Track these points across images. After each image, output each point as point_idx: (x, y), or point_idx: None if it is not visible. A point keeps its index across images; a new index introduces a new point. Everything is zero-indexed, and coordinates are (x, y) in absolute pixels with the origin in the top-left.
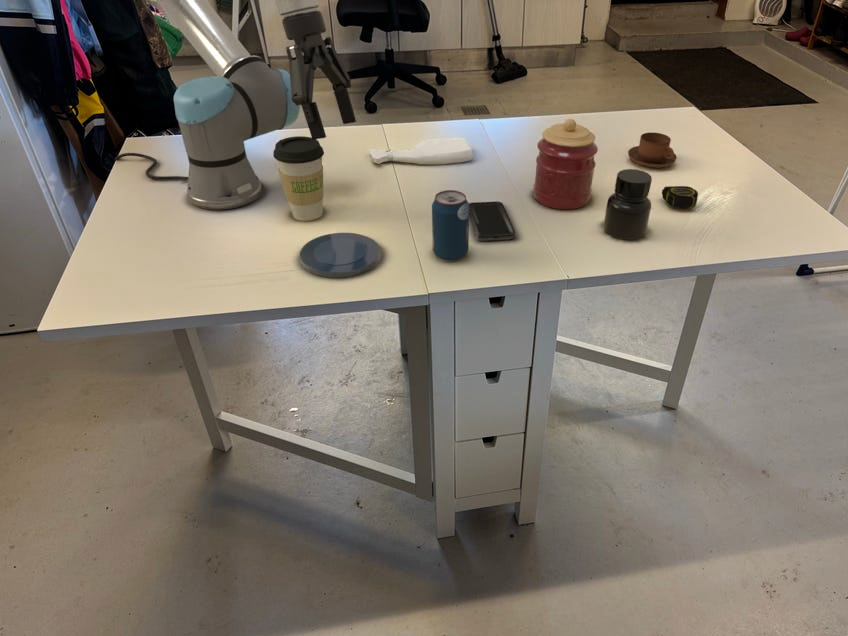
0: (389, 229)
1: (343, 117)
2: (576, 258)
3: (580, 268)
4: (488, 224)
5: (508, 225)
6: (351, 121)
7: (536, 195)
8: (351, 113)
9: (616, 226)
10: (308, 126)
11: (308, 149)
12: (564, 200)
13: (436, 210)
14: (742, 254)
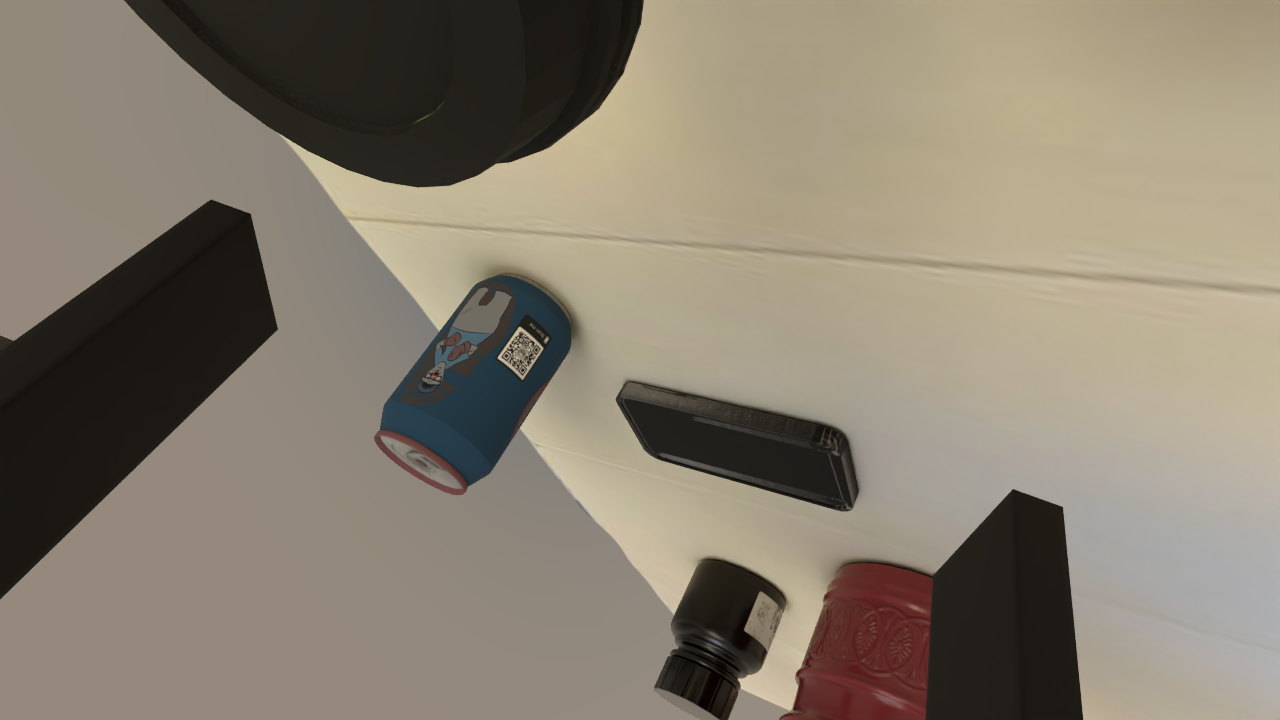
0: (627, 170)
1: (999, 578)
2: (608, 483)
3: (573, 470)
4: (692, 434)
5: (696, 463)
6: (952, 569)
7: (888, 581)
8: (935, 668)
9: (692, 583)
10: (91, 289)
11: (236, 84)
12: (823, 598)
13: (385, 405)
14: None
